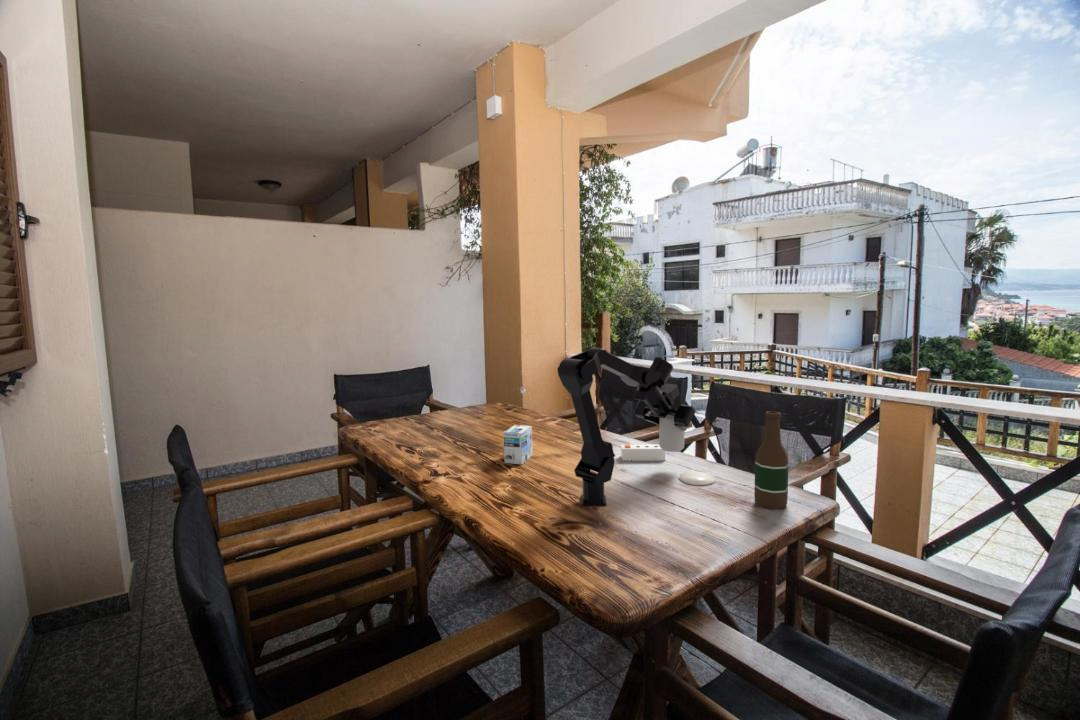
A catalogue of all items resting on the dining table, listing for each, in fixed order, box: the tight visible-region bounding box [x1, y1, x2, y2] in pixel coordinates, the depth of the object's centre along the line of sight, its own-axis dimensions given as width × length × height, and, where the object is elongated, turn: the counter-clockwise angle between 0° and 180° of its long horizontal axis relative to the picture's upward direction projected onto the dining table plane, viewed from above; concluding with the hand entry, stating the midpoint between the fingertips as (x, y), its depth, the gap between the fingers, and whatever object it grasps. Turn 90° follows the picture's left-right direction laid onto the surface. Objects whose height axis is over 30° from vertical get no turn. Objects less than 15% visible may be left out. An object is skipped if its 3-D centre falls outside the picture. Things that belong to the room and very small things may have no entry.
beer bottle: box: [754, 410, 789, 511], centre depth 123 cm, size 8×8×24 cm
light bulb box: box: [503, 424, 534, 465], centre depth 166 cm, size 11×7×11 cm, turn 161°
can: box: [658, 415, 685, 453], centre depth 150 cm, size 8×8×12 cm
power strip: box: [620, 443, 666, 462], centre depth 163 cm, size 5×14×5 cm, turn 86°
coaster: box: [678, 471, 716, 486], centre depth 143 cm, size 10×10×1 cm
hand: (674, 427), depth 151 cm, fingers closed on can, 7 cm apart
